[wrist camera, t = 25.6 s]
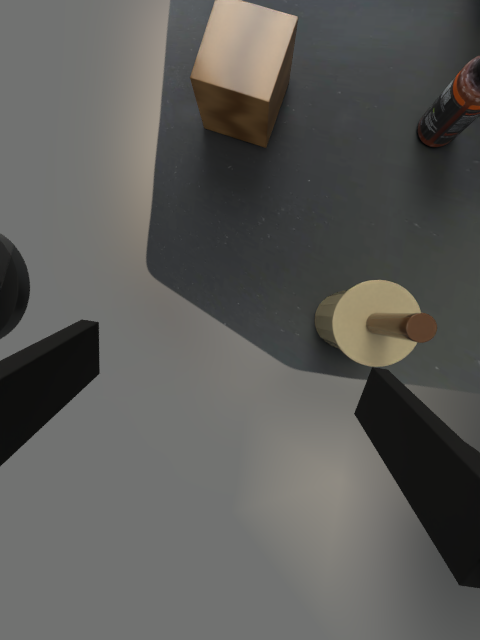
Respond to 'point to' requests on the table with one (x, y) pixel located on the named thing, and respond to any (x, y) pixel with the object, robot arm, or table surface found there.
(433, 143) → the supplement bottle
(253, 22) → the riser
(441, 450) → the robot arm
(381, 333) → the lid
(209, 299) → the table surface
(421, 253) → the table surface
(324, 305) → the jar
